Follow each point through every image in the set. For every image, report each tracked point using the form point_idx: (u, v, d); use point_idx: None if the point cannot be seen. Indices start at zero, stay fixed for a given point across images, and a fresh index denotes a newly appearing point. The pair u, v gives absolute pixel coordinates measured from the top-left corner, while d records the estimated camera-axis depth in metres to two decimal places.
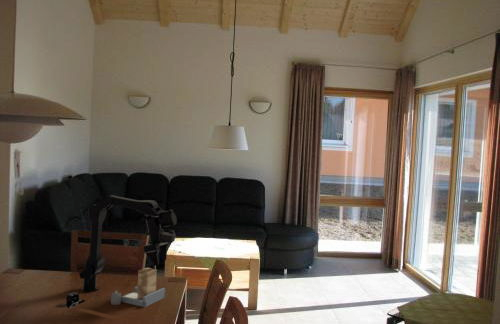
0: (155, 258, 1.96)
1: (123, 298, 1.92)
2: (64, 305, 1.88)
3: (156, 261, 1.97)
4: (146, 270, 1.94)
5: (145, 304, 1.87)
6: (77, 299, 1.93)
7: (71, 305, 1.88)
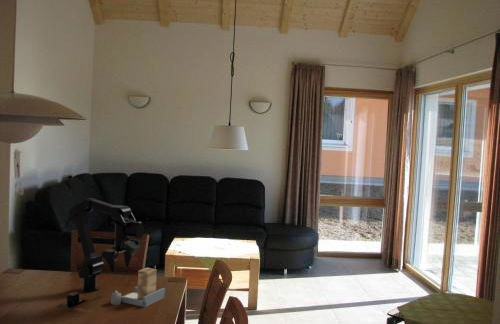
0: (112, 265, 1.96)
1: (123, 298, 1.92)
2: (65, 305, 1.88)
3: (112, 268, 1.96)
4: (146, 270, 1.94)
5: (145, 304, 1.87)
6: (77, 299, 1.93)
7: (72, 305, 1.88)
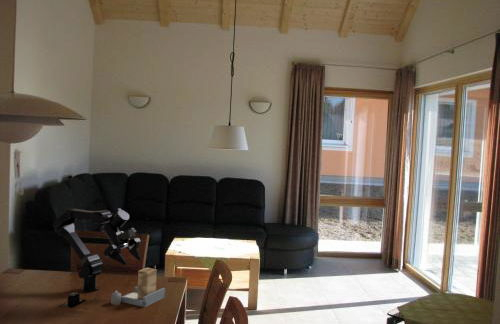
0: (120, 258, 1.93)
1: (123, 298, 1.92)
2: (66, 305, 1.88)
3: (122, 260, 1.93)
4: (146, 270, 1.94)
5: (145, 304, 1.87)
6: (78, 299, 1.93)
7: (73, 305, 1.88)
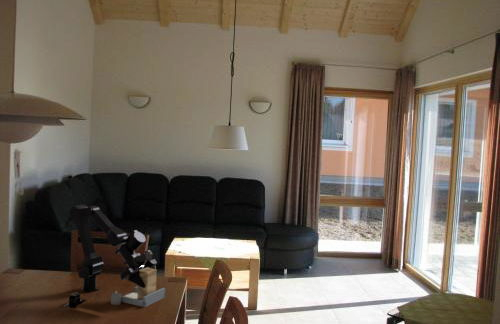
0: (138, 281, 1.91)
1: (123, 298, 1.92)
2: (68, 306, 1.87)
3: (141, 283, 1.91)
4: (146, 270, 1.94)
5: (145, 304, 1.87)
6: (78, 299, 1.93)
7: (75, 305, 1.88)
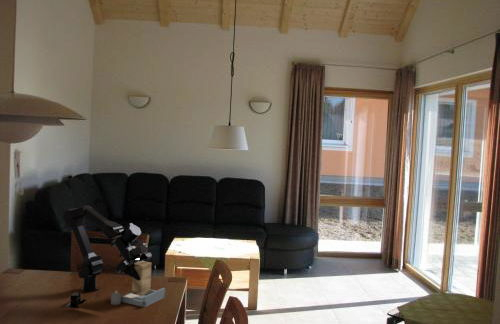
0: (133, 273, 1.92)
1: (123, 298, 1.92)
2: (70, 306, 1.87)
3: (136, 276, 1.92)
4: (141, 263, 1.95)
5: (145, 304, 1.87)
6: (79, 299, 1.93)
7: None
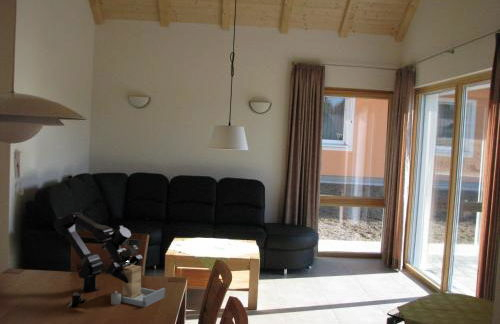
0: (122, 276, 1.93)
1: (123, 298, 1.92)
2: (72, 306, 1.87)
3: (124, 278, 1.93)
4: (131, 267, 1.97)
5: (145, 304, 1.87)
6: (79, 299, 1.93)
7: None
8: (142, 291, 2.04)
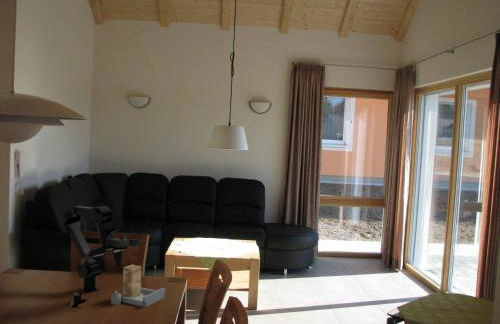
0: (101, 263, 1.95)
1: (123, 298, 1.92)
2: (74, 306, 1.88)
3: (103, 266, 1.95)
4: (131, 267, 1.97)
5: (145, 304, 1.87)
6: None
7: None
8: (142, 291, 2.04)
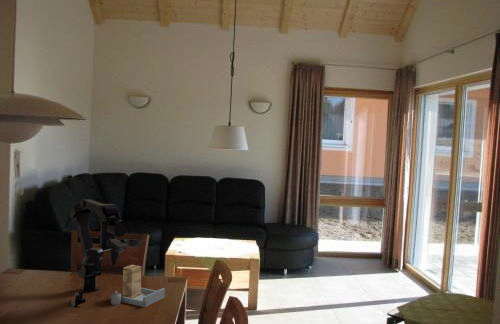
0: (97, 263, 1.93)
1: (123, 298, 1.92)
2: (77, 306, 1.88)
3: (98, 266, 1.94)
4: (131, 267, 1.97)
5: (145, 304, 1.87)
6: None
7: None
8: (142, 291, 2.04)
